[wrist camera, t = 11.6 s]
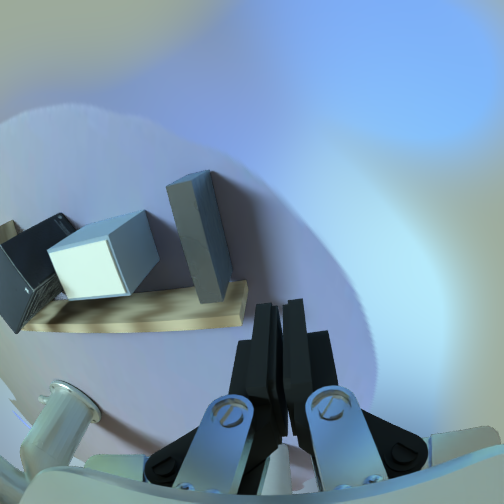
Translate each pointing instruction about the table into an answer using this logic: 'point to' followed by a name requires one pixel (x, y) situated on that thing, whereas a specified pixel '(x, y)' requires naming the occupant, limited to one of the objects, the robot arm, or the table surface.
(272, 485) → the coffee cup
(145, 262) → the pale grey block
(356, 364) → the table surface
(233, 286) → the curved wooden plank
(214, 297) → the bookend
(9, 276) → the small box
